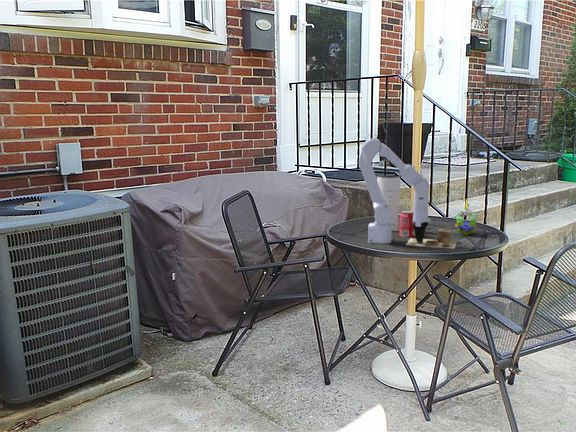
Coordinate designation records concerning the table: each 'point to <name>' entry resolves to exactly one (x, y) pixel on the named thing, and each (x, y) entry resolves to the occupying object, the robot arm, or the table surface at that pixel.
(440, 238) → the block
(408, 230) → the soda can
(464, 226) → the toy helicopter
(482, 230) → the table surface
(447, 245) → the board
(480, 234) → the table surface
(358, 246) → the table surface
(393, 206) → the white tumbler
